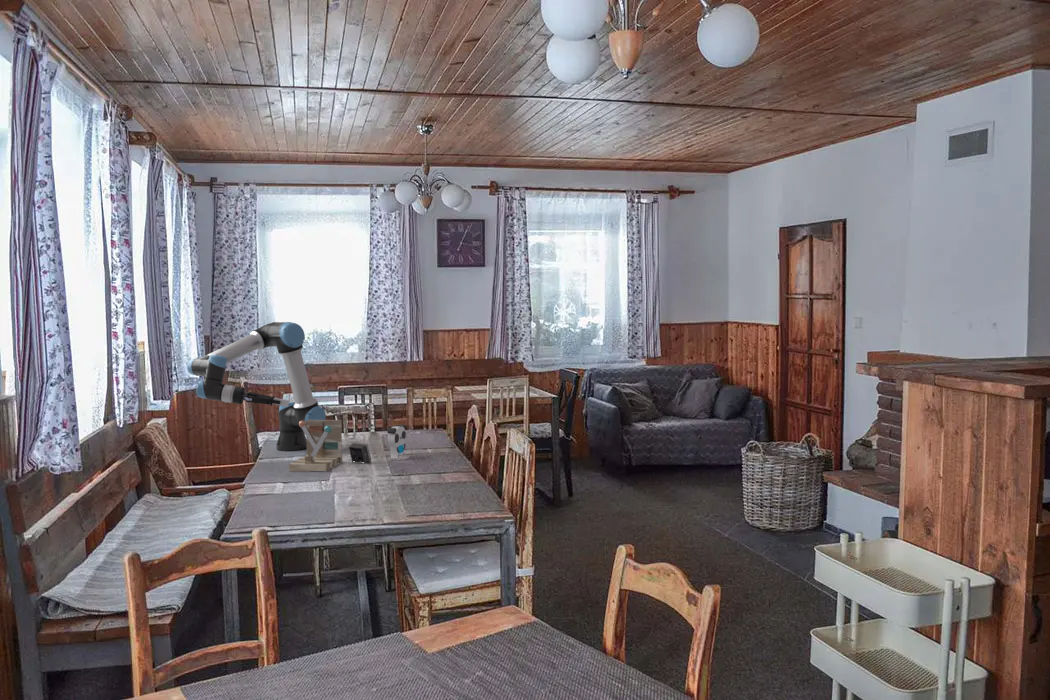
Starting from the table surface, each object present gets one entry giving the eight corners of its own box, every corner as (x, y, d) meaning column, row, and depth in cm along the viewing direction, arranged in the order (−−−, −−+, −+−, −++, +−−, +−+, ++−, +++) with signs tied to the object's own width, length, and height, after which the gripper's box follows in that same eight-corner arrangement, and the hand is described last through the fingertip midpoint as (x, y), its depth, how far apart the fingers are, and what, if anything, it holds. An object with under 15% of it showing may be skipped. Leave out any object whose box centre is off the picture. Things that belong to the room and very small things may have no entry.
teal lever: (309, 457, 357) (328, 423, 356) (315, 461, 357) (334, 427, 355) (306, 458, 354) (325, 424, 352) (312, 462, 354) (331, 428, 352)
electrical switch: (372, 462, 372) (370, 442, 370) (363, 465, 367) (362, 445, 366) (356, 460, 377) (355, 440, 375) (348, 463, 372) (346, 443, 371)
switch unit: (308, 461, 376) (307, 419, 375) (342, 461, 375) (341, 419, 373) (289, 471, 353) (288, 427, 352) (325, 471, 352) (324, 427, 351)
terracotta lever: (318, 455, 371) (299, 422, 371) (324, 451, 371) (304, 418, 371) (315, 456, 368) (296, 423, 368) (321, 452, 368) (302, 419, 368)
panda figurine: (402, 461, 374) (401, 428, 373) (379, 460, 377) (379, 427, 377) (413, 456, 385) (413, 424, 384) (392, 455, 389) (391, 423, 388)
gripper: (236, 400, 367) (289, 409, 369) (228, 405, 354) (284, 414, 356) (239, 384, 367) (292, 393, 369) (231, 388, 354) (286, 397, 356)
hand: (288, 403), depth 363 cm, fingers closed
